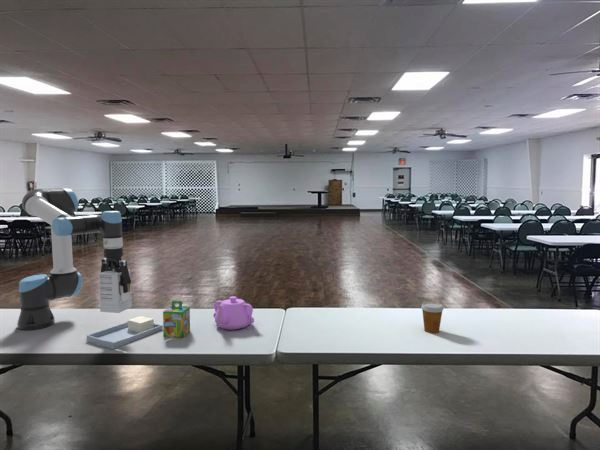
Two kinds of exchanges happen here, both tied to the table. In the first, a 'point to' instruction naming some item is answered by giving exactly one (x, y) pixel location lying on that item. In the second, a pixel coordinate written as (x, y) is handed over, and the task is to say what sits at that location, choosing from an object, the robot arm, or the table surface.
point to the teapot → (233, 313)
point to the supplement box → (112, 292)
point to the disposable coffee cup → (432, 316)
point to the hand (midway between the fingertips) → (116, 298)
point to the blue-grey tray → (119, 335)
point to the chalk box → (176, 320)
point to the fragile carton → (140, 324)
